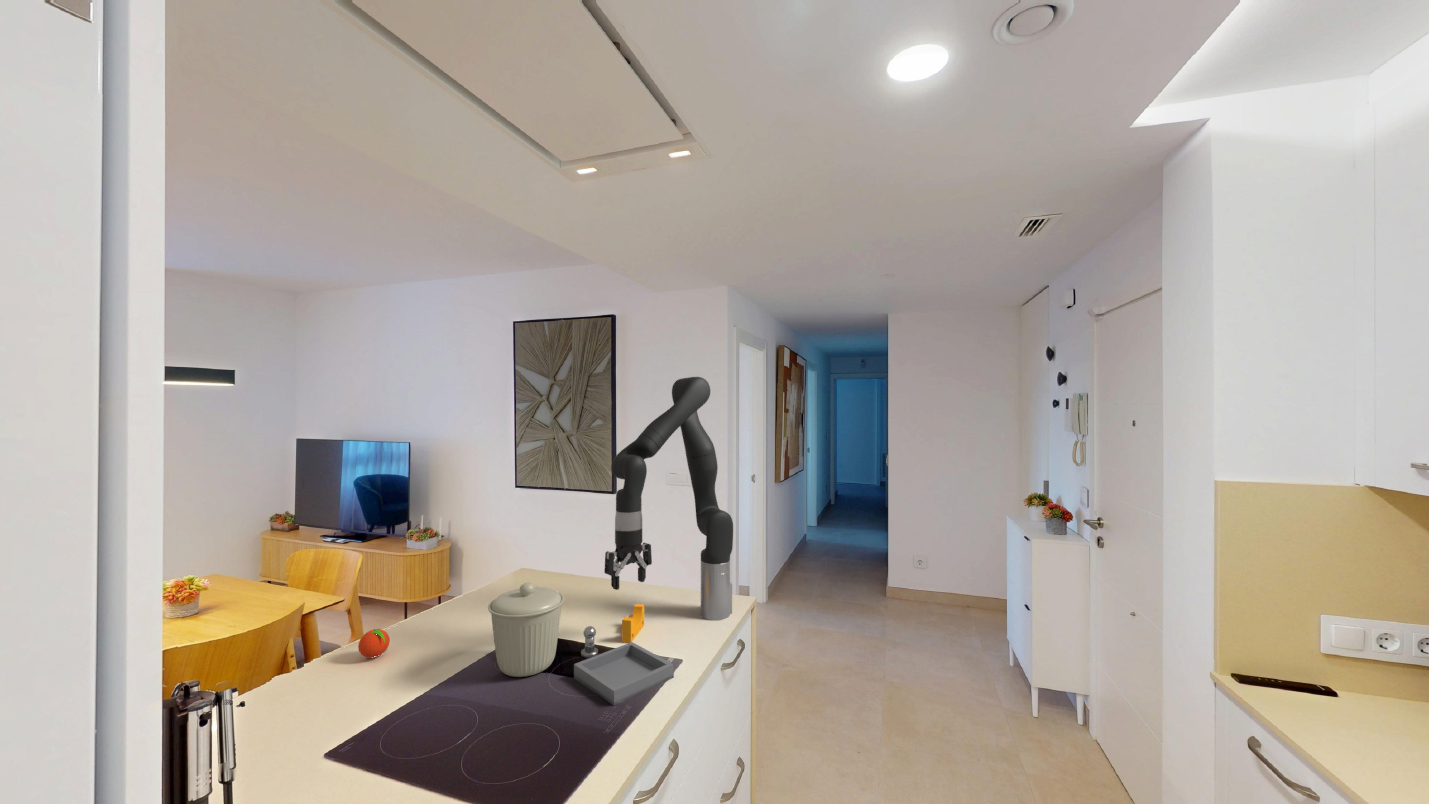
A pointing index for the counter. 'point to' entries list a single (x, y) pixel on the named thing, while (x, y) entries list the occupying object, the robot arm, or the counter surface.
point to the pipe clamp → (633, 624)
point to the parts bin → (623, 672)
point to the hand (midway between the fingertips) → (628, 585)
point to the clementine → (373, 643)
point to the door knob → (589, 643)
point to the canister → (526, 629)
